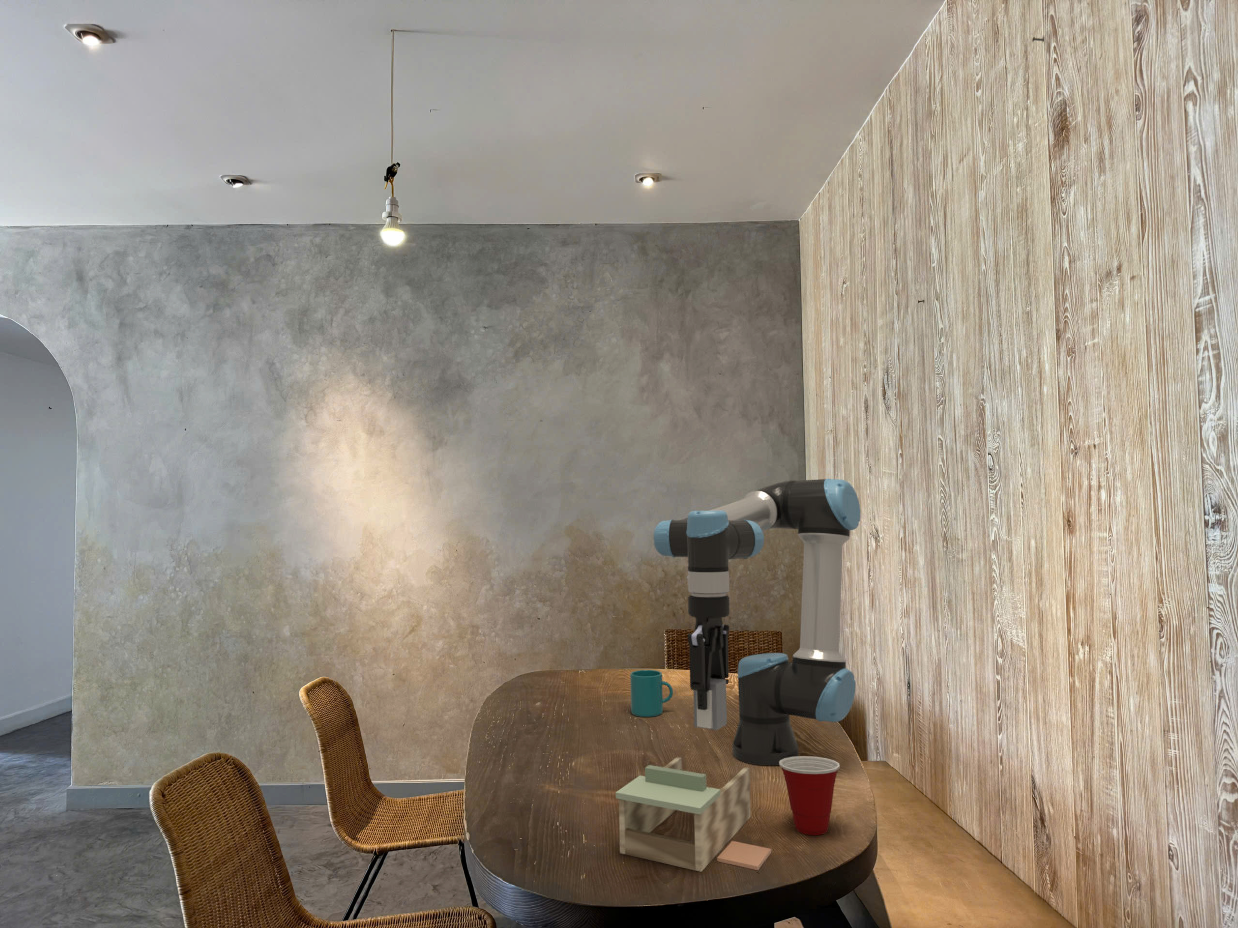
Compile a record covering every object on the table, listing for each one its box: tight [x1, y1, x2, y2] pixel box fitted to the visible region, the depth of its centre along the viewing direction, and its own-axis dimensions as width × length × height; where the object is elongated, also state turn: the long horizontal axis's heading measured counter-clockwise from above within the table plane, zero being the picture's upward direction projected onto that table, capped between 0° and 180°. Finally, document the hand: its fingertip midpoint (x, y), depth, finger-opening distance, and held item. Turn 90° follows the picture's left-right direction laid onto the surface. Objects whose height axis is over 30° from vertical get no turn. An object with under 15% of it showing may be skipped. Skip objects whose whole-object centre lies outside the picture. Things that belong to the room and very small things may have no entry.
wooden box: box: [618, 756, 751, 872], centre depth 138 cm, size 24×15×9 cm, turn 151°
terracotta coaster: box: [716, 840, 772, 871], centre depth 129 cm, size 7×7×1 cm
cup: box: [629, 669, 674, 718], centre depth 218 cm, size 9×12×11 cm
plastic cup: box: [778, 755, 841, 836], centre depth 140 cm, size 11×11×12 cm
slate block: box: [692, 678, 728, 731], centre depth 140 cm, size 4×4×8 cm
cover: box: [615, 764, 722, 814], centre depth 132 cm, size 9×16×3 cm, turn 61°
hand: (710, 723), depth 140 cm, fingers closed on slate block, 4 cm apart
